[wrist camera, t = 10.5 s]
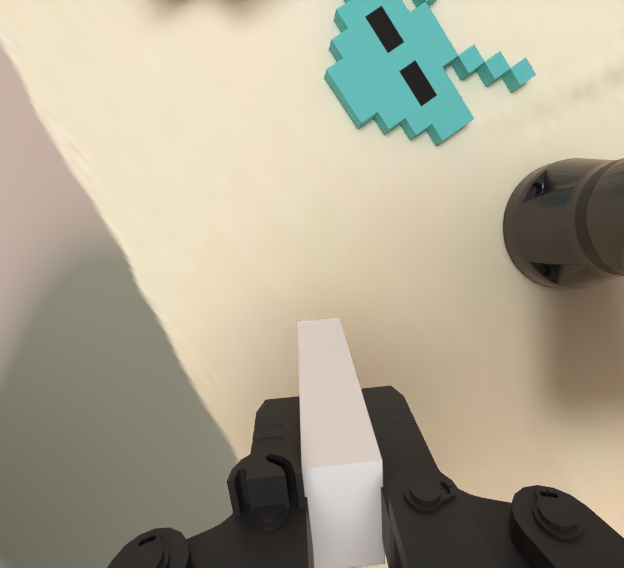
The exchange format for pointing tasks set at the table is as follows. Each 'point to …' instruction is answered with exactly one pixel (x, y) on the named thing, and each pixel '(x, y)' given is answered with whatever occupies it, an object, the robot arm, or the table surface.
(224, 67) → the table surface
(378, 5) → the alien figure
